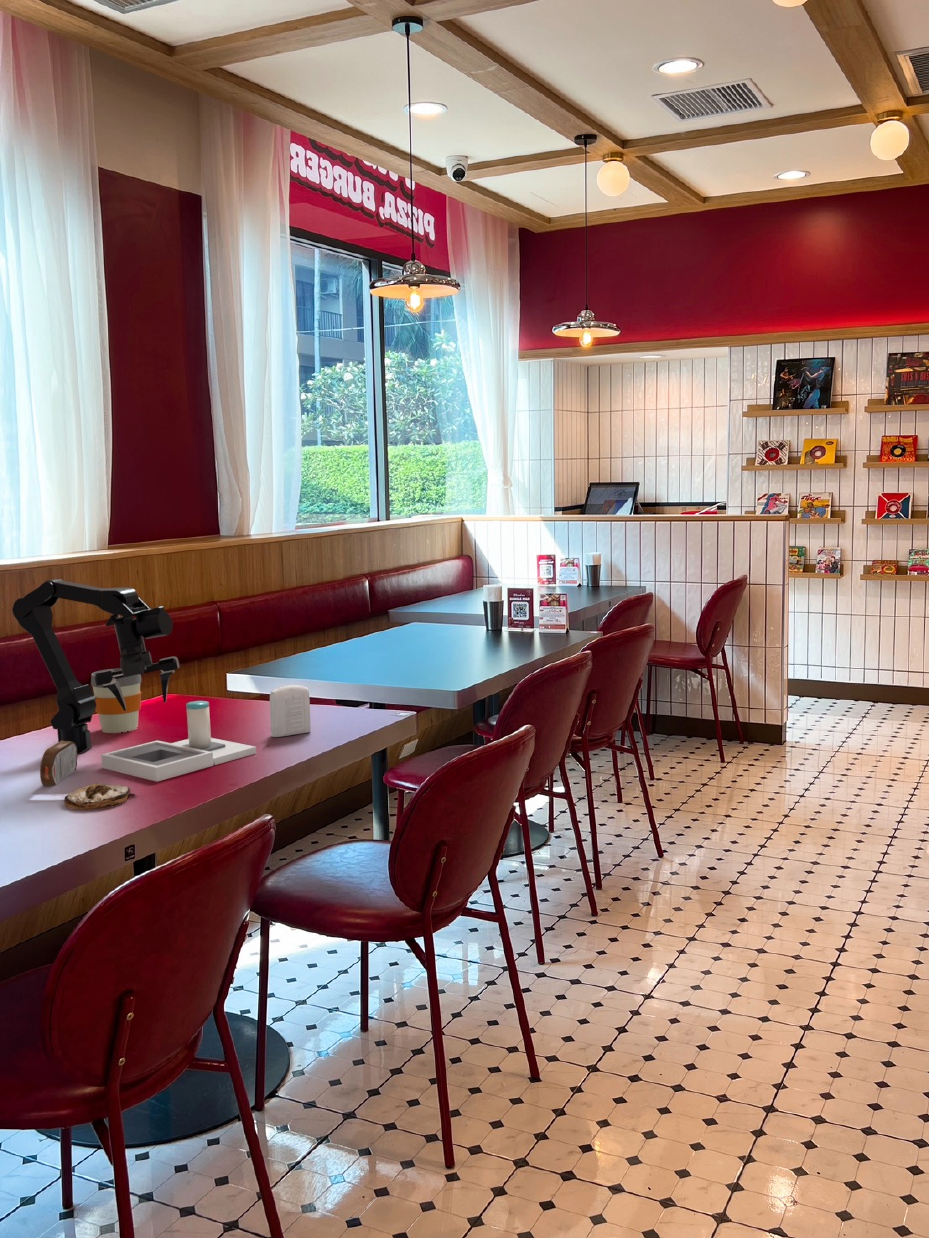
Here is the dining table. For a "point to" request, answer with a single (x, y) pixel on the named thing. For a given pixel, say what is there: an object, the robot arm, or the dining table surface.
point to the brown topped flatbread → (97, 797)
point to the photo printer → (290, 710)
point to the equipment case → (172, 758)
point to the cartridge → (198, 724)
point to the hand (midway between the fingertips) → (145, 706)
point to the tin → (58, 762)
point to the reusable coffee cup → (118, 704)
